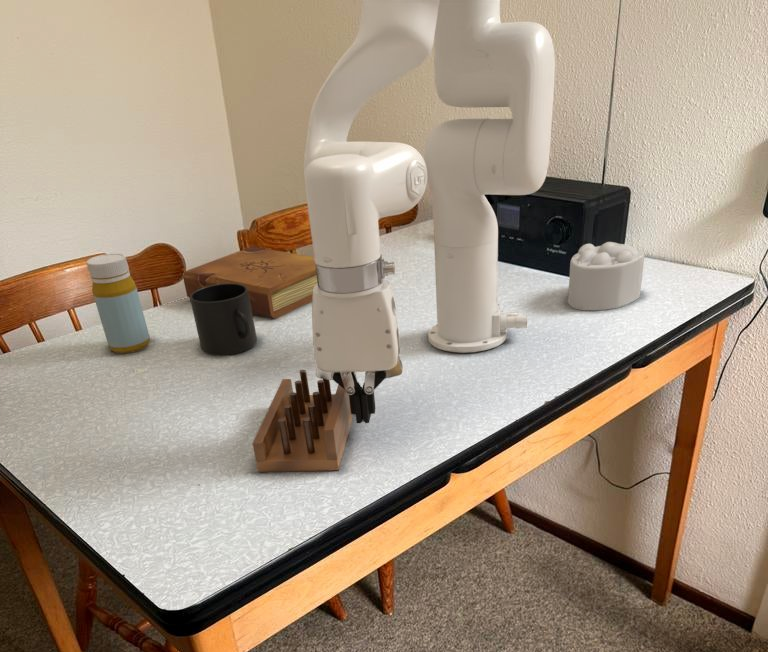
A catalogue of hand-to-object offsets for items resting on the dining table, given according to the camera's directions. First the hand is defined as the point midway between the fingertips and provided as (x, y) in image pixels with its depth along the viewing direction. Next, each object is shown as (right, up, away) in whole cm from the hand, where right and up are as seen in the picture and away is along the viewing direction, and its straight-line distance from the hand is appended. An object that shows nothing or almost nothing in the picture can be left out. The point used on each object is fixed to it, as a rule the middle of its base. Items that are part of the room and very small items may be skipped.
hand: (364, 418), depth 96 cm
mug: (-23, +15, +30) cm, 41 cm away
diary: (-21, +30, +51) cm, 63 cm away
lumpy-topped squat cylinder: (+40, +25, +35) cm, 59 cm away
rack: (-7, -2, +2) cm, 8 cm away
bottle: (-41, +16, +34) cm, 56 cm away
